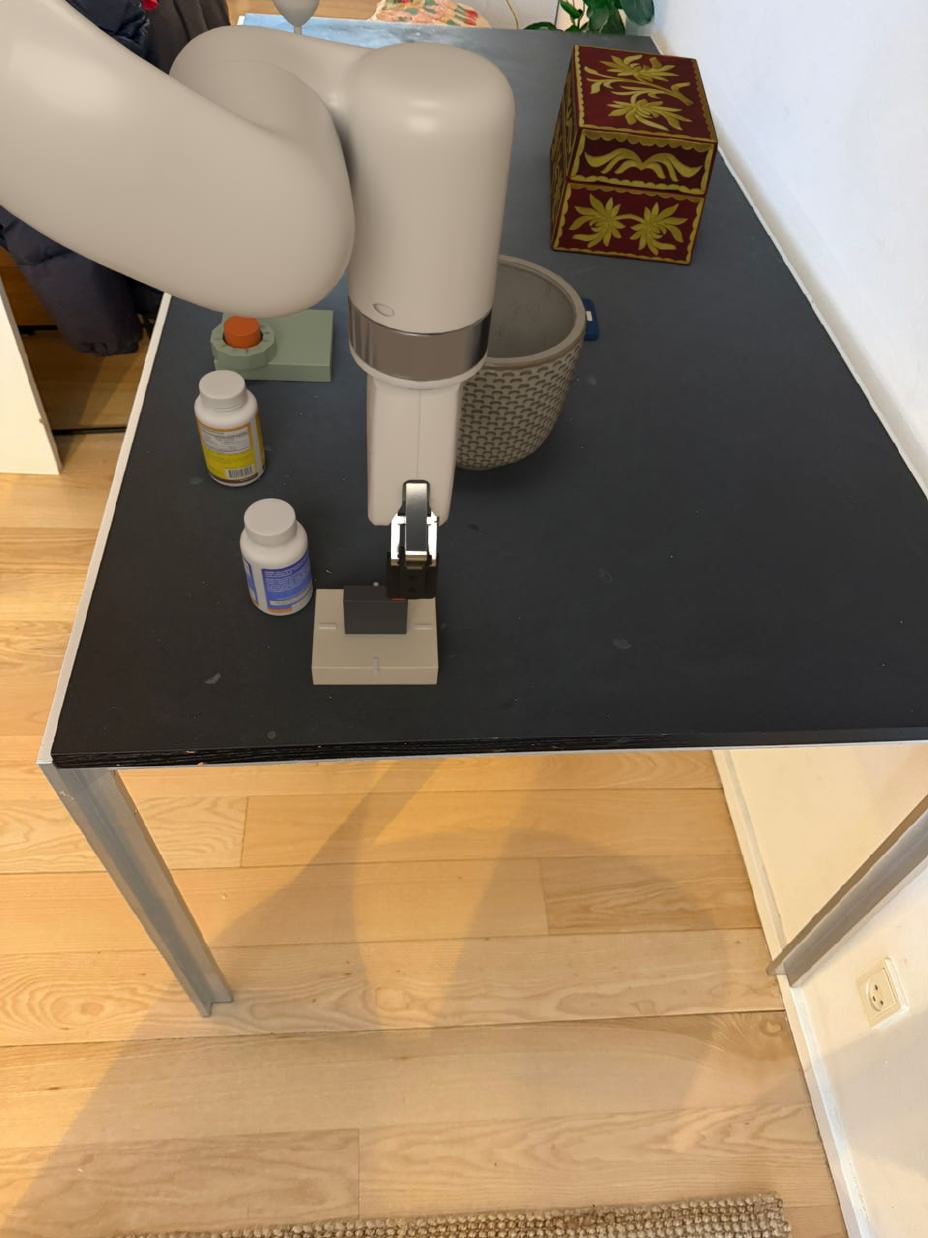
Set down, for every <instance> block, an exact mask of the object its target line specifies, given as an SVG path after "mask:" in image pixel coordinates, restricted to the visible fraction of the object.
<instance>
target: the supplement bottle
mask: <svg viewBox="0 0 928 1238" xmlns="http://www.w3.org/2000/svg"><path fill="white" fill-rule="evenodd" d="M198 389H199V395H198V396H197V397H196V398H195V402H194V406H193V407H194V415H195V419H196V424H197V428H198V434H199V438H200V442H201V446H202V447H201V448H202V451H203V455H204V460H205V461H204V462H205V464H206V468H207V472H208V474H209V475H210V477H211V478H212V479H213V480H214V481H216V482H217V483H218V484H221V485H224V486H227V487H243V486H247V485H249V484H252V483H254V482H256V481H257V480H258V479H259V478H260V477H262V475H263V474H264V473H265V469H266V455H265V448H264V447H265V446H264V442H263V441H264V440H263V435H262V434H263V433H262V427H261V420H260V412H259V406H258V400H257V398H256V397H255V395H254V394H253V393H252V391H250V390H249V389H247V385H246V381H245V379H243V377H242V376H241V375H239V374H238V373H236V372H233V371H229V370H217V371H216V370H213V371H210V372H208V373H206V374H205V375H203V376H202V378H201V379H200V380H199V383H198Z"/></svg>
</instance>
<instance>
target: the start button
mask: <svg viewBox="0 0 928 1238" xmlns="http://www.w3.org/2000/svg"><path fill="white" fill-rule="evenodd" d="M223 327H224V333H225V339H226V343H227V344H228V345H229V346H231V347H233V348H241V349H247V348H250V347H254V346H257V345H258V344H259V343H260V341H261V335H260V327H259V323H258V321H257V320H256V319H255V318H249V317H240V316H233V317H230V318H228V319H227V320H226V321H225V322H224V326H223Z"/></svg>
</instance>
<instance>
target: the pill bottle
mask: <svg viewBox="0 0 928 1238" xmlns="http://www.w3.org/2000/svg"><path fill="white" fill-rule="evenodd" d="M243 522H244V523H243V524H244V528H243V529H242V531H241V534H240V538H239V547H240V553H241V557H242V561H243V566H244V567H243V568H244V571H245V576H246V577H245V578H246V581H247V586H248V593H249V596H250V598H251V601H252V603H253V604H254V605H255V607H257V609H258V610H260V611H261V612H263V613H265V614H268V615H271V616H279V617H280V616H289V615H292V614H295V613H297V612H299V611H301V610H302V609H304V608H305V607H306V606H307V605H308V604H309V602H310V601H311V599H312V596H313V593H314V592H313V591H314V585H313V584H314V583H313V575H312V568H311V559H310V548H309V540H308V534H307V532H306V529H305V528H304V526H303V525H302V524H301V523H300V522H299V521H298V520H297V515H296V511H295V510H294V508H293V506H291V504H290V503H288V502H287V501H284V500H282V499H279V498H274V497H273V498H271V497H269V498H263V499H259V500H257V501H255V502H253V503H252V504H251V505H250V506H248V507H247V509H246V510H245V512H244V514H243Z"/></svg>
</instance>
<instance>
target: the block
mask: <svg viewBox="0 0 928 1238" xmlns="http://www.w3.org/2000/svg"><path fill="white" fill-rule="evenodd" d="M334 314H335V313H334V310H332V309H310V308H308V309H306V310H304V311H302V312H300V313H296V314H292V315H289V316H285V317H280V318H267V319H260V318H255V319H256V320H257V321H258V323H259V327H260V335H261V341H260V343H259V344H258V345H257V346H254V347H250V348H247V349H241V348H233V347H231V346H229V345H228V344H227V343H226V339H225V333H224V327H223V326H224V322H225V321H226V320H227V319H228V318H230V317H233V316H235V315H231V314H226V313H222V317H221V321H220V322H221V323H220V324H218V325H217V326H216V327H214V328H213V329H212V330H211V335H210V339H209V342H210V348H211V352H212V353H211V354H212V356H213V357H214V358H213V359H214V360H213V364H214V371H217V370H229V371H233V372H236V373H238V374H239V375H241V376H242V377H243V379H244V380H248V381H249V380H250V381H280V382H281V381H282V382H284V381H286V382H308V383H309V382H313V383H314V382H315V383H331V382H332V371H333V370H332V369H333V353H334V338H335V337H334V336H335V315H334Z"/></svg>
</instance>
